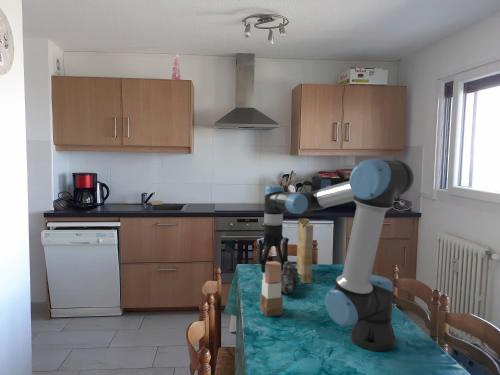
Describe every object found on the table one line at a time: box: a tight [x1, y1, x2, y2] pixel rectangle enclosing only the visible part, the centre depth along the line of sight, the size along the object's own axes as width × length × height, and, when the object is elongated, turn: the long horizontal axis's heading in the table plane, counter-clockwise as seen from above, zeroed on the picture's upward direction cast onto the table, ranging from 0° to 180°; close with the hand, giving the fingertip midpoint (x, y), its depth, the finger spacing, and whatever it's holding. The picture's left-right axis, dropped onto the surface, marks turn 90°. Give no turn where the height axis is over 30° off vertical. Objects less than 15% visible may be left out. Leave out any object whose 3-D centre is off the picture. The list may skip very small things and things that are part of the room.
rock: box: [281, 260, 301, 295], centre depth 182 cm, size 22×16×15 cm
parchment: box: [296, 218, 314, 284], centre depth 202 cm, size 23×6×30 cm, turn 177°
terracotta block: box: [266, 260, 281, 283], centre depth 155 cm, size 6×6×7 cm
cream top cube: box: [261, 279, 282, 299], centre depth 155 cm, size 6×6×6 cm
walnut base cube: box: [259, 292, 284, 317], centre depth 156 cm, size 7×7×7 cm
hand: (271, 279), depth 155 cm, fingers closed on terracotta block, 5 cm apart
